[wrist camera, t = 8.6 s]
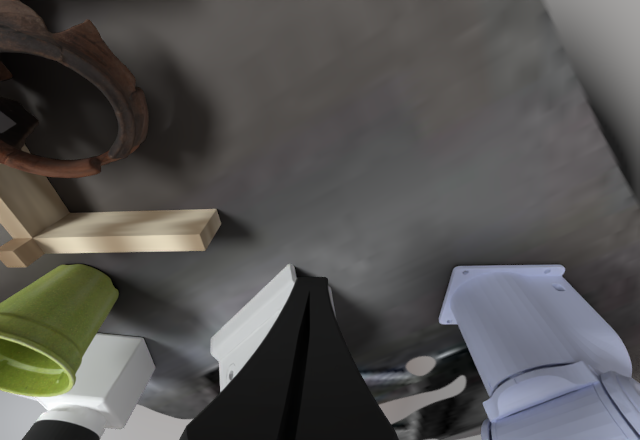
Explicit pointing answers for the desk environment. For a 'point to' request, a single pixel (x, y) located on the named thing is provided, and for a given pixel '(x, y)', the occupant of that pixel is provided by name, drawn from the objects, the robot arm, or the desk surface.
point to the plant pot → (52, 329)
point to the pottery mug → (87, 60)
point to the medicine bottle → (98, 391)
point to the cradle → (89, 224)
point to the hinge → (252, 325)
